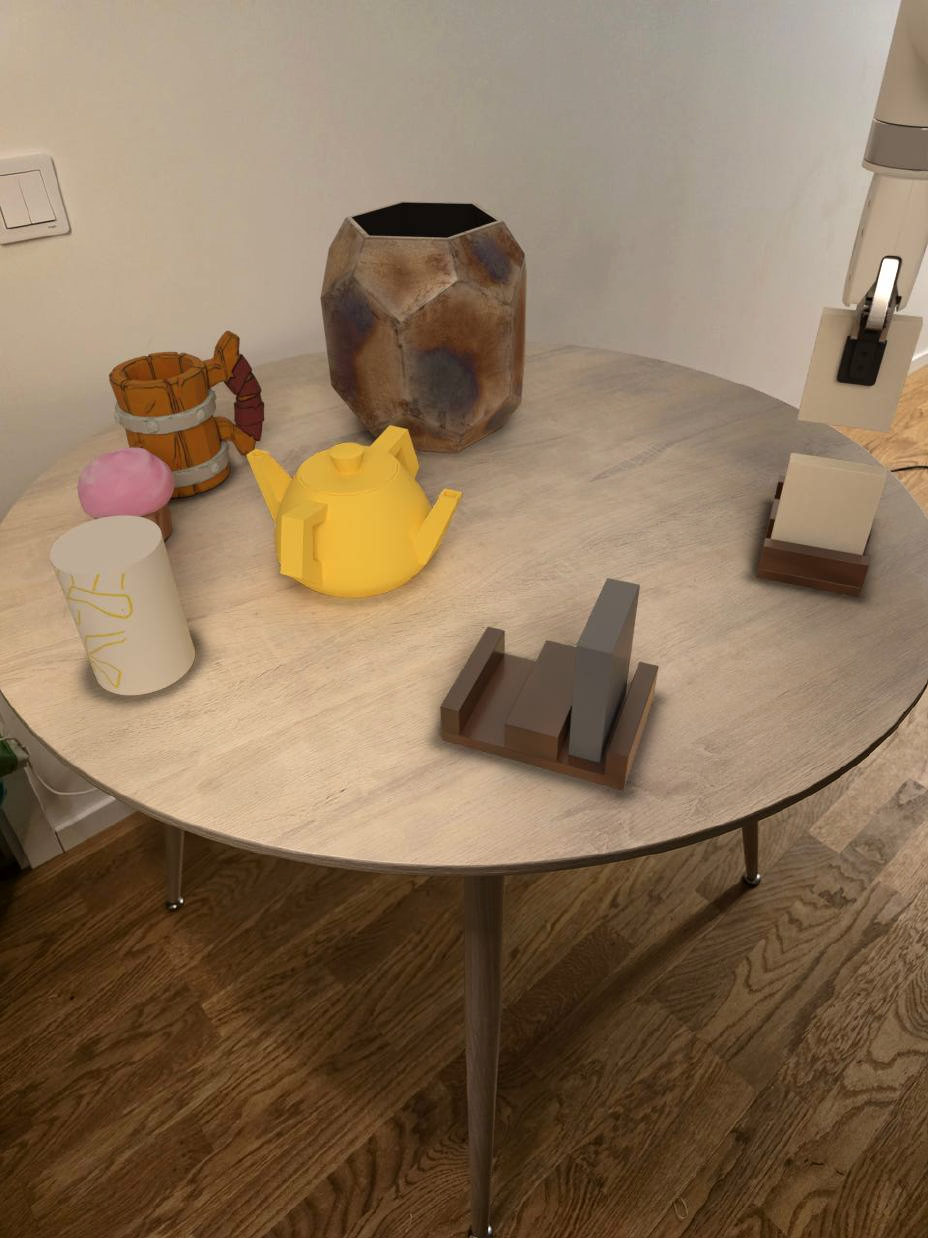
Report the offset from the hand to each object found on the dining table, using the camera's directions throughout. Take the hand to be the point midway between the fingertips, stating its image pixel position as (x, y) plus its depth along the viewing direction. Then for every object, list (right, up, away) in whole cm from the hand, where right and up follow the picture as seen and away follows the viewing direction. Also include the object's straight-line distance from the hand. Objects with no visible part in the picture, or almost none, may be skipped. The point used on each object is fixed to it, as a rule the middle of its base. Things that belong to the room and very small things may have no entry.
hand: (856, 375), depth 77 cm
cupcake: (-68, -14, +10) cm, 70 cm away
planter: (-39, +3, +31) cm, 50 cm away
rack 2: (-1, -15, +7) cm, 16 cm away
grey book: (-25, -30, -12) cm, 41 cm away
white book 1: (0, -4, +3) cm, 5 cm away
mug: (-65, -5, +22) cm, 69 cm away
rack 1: (-28, -29, -10) cm, 42 cm away
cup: (-62, -26, -4) cm, 67 cm away
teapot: (-45, -16, +7) cm, 49 cm away
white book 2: (-2, -16, +4) cm, 17 cm away
